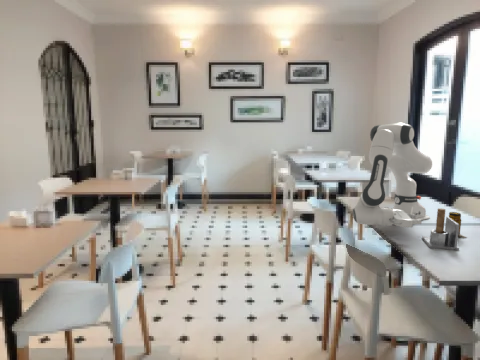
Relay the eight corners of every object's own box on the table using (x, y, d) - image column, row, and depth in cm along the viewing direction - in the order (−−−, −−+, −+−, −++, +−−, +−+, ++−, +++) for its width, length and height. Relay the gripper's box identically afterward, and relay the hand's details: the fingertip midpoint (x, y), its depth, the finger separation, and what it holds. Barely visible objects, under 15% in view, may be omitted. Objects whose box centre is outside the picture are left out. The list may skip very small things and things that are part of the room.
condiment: (442, 233, 188) (444, 211, 186) (458, 233, 188) (461, 211, 186) (450, 237, 181) (452, 214, 179) (467, 238, 181) (469, 215, 179)
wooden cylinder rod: (438, 240, 173) (441, 208, 170) (444, 242, 170) (447, 209, 167) (433, 240, 172) (436, 208, 169) (438, 243, 169) (441, 210, 166)
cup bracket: (430, 248, 166) (432, 223, 164) (422, 238, 179) (424, 215, 177) (458, 250, 163) (461, 225, 161) (448, 240, 177) (450, 217, 175)
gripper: (392, 216, 164) (425, 218, 161) (384, 206, 183) (413, 207, 181) (391, 229, 165) (423, 231, 162) (383, 218, 184) (412, 220, 182)
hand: (418, 219), depth 171 cm, fingers open, 8 cm apart
